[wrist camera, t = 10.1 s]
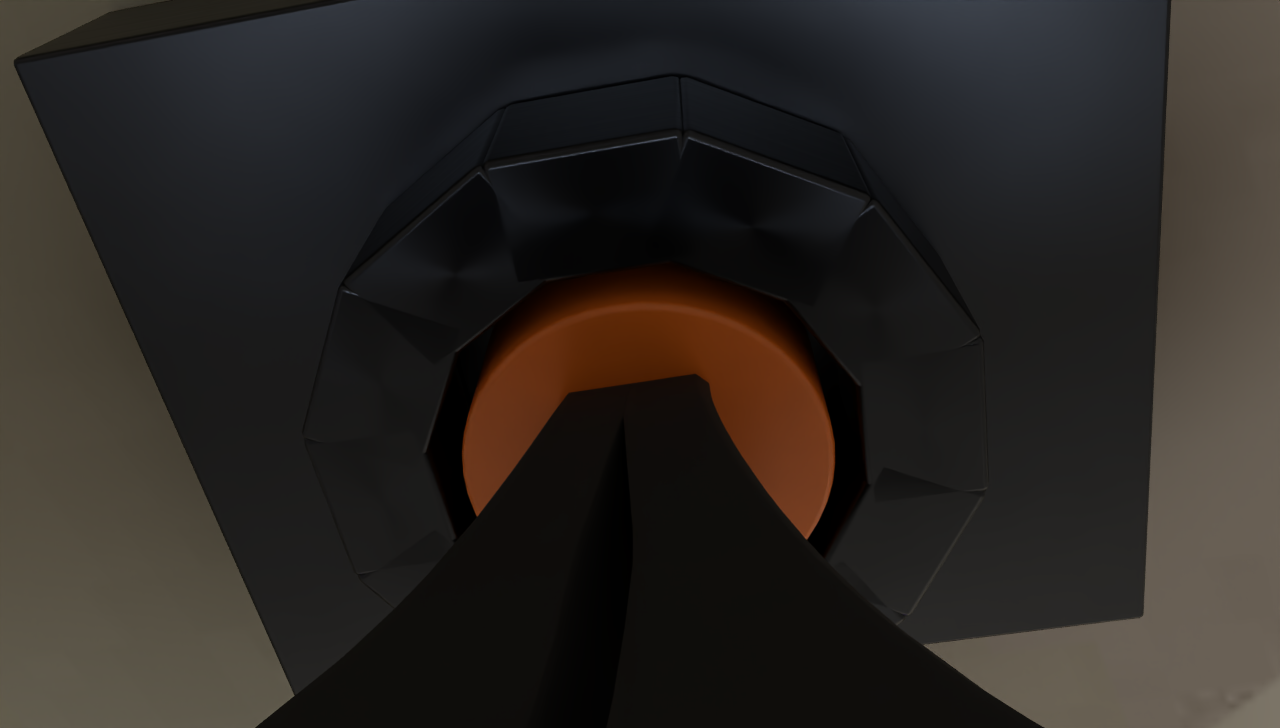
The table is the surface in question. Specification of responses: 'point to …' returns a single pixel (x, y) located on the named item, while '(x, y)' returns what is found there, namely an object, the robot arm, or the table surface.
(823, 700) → the robot arm
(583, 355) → the button
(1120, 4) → the button box
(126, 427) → the table surface
